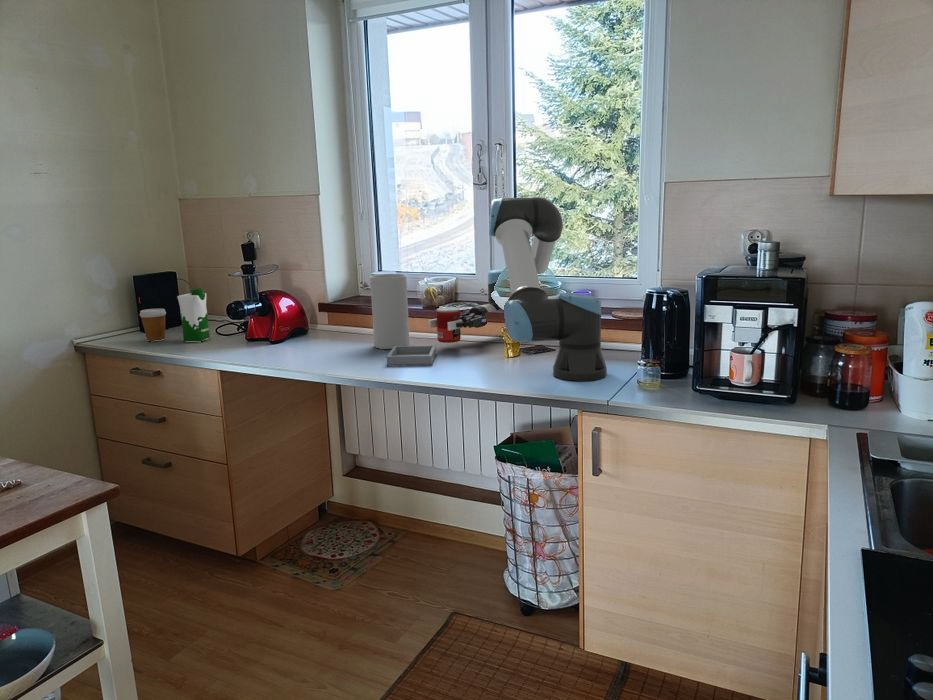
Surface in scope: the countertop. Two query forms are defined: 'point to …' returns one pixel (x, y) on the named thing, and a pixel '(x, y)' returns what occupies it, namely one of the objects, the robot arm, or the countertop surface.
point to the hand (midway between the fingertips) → (438, 325)
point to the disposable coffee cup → (153, 323)
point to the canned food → (442, 324)
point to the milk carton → (194, 315)
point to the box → (411, 355)
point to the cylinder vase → (389, 310)
